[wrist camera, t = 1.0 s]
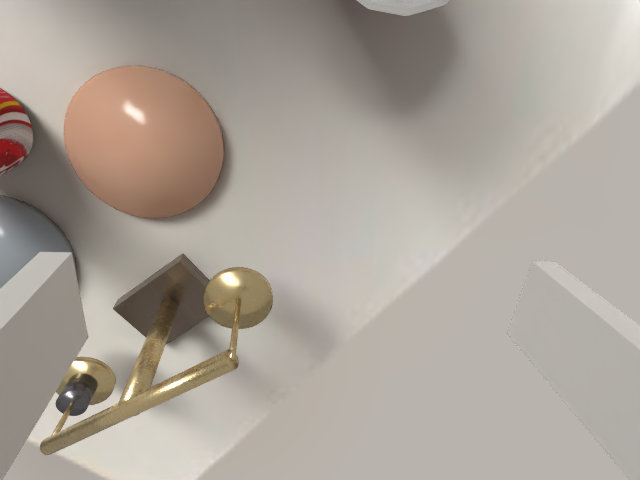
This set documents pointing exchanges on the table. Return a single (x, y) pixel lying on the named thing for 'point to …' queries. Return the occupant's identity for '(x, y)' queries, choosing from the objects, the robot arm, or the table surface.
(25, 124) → the soda can
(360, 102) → the table surface
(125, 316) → the brass balance
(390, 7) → the plastic cup
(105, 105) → the peach disc
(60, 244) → the blue gray disc
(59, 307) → the robot arm
